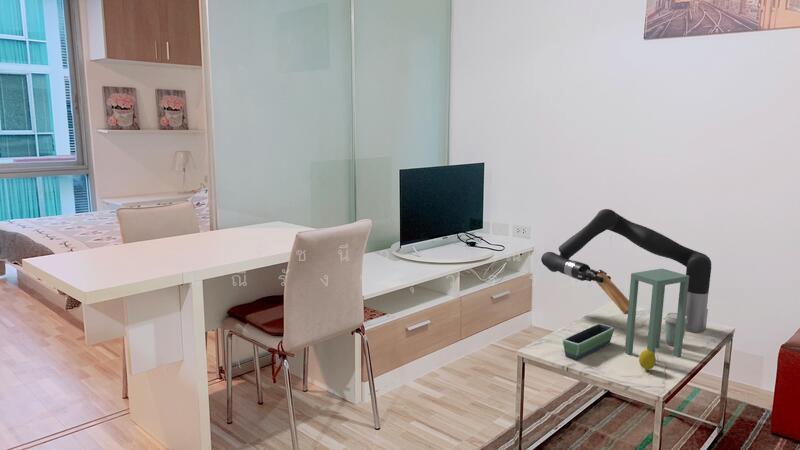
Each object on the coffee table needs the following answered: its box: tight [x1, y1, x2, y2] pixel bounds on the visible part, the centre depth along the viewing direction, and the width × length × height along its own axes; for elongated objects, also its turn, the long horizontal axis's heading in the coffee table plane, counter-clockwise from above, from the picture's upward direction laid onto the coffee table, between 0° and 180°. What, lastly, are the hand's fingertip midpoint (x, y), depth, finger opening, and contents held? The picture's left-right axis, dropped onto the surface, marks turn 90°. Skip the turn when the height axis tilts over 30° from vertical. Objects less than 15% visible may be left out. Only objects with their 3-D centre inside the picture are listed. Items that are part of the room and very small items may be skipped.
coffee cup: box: [664, 312, 688, 347], centre depth 236 cm, size 8×9×12 cm
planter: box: [562, 323, 615, 361], centre depth 229 cm, size 28×7×7 cm, turn 133°
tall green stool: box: [624, 268, 689, 358], centre depth 223 cm, size 17×12×32 cm
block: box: [595, 273, 629, 315], centre depth 241 cm, size 4×20×4 cm
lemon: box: [638, 348, 657, 371], centre depth 211 cm, size 6×6×8 cm
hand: (606, 279), depth 244 cm, fingers closed on block, 3 cm apart
